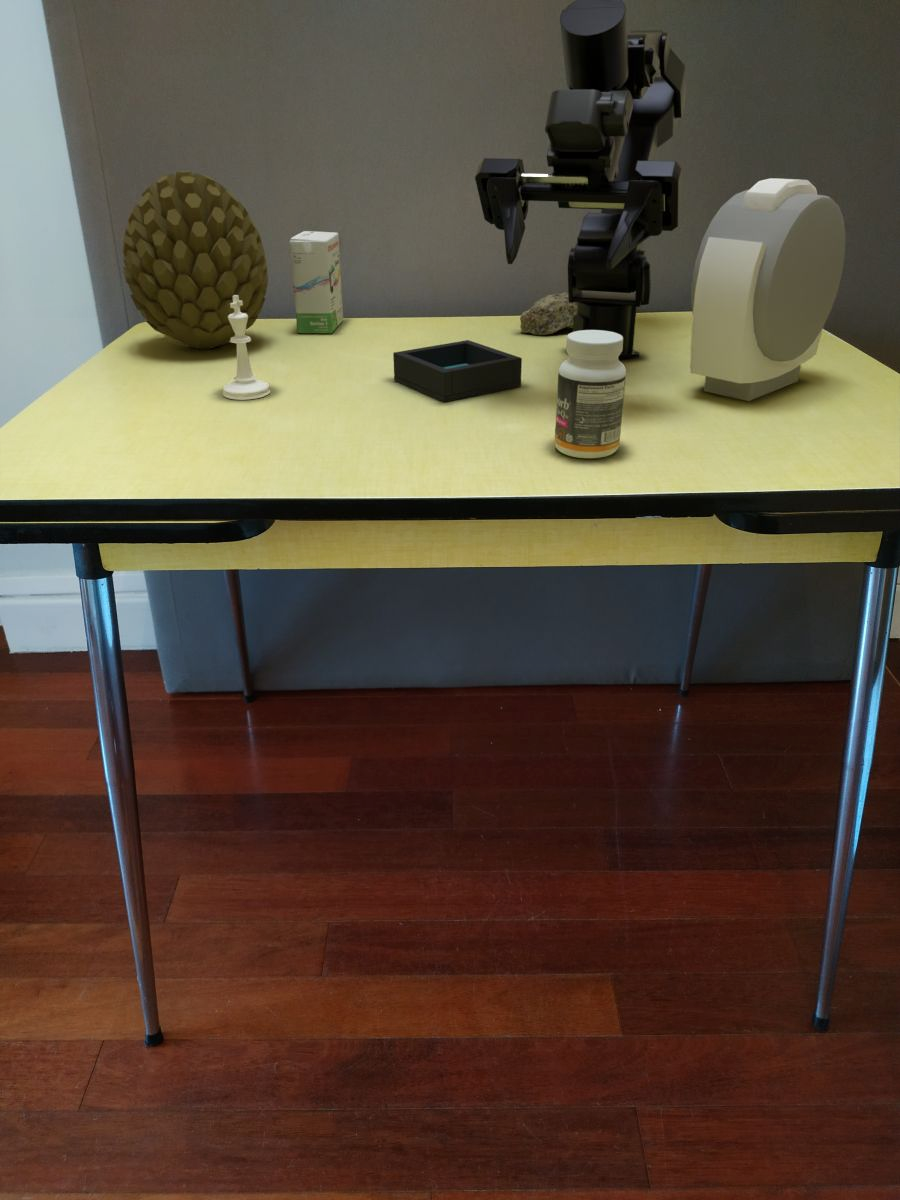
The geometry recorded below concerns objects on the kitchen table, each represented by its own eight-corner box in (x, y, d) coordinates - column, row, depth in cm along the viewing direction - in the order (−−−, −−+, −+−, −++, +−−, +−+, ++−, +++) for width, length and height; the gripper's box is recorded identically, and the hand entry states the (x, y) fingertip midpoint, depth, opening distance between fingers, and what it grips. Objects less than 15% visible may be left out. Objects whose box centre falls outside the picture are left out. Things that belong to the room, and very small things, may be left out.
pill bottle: (548, 439, 83) (554, 328, 78) (610, 437, 83) (619, 327, 78) (560, 461, 78) (567, 344, 73) (626, 459, 78) (637, 342, 73)
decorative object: (287, 354, 111) (271, 174, 101) (144, 368, 106) (112, 179, 96) (260, 326, 125) (243, 165, 115) (132, 337, 119) (103, 169, 109)
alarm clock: (758, 363, 106) (788, 172, 96) (828, 377, 100) (868, 176, 91) (671, 395, 95) (695, 182, 85) (744, 412, 89) (779, 188, 80)
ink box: (332, 334, 120) (326, 239, 114) (296, 333, 121) (287, 239, 115) (344, 320, 128) (339, 230, 122) (310, 319, 128) (303, 230, 122)
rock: (570, 338, 117) (572, 302, 115) (513, 333, 120) (514, 297, 118) (586, 327, 123) (588, 292, 121) (531, 322, 126) (532, 288, 123)
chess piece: (278, 388, 98) (269, 292, 93) (255, 401, 94) (244, 301, 89) (238, 384, 99) (227, 289, 94) (214, 397, 95) (200, 298, 90)
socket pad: (468, 366, 105) (468, 339, 104) (521, 386, 98) (522, 357, 97) (393, 380, 100) (392, 352, 99) (443, 402, 93) (443, 372, 92)
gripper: (486, 60, 83) (440, 188, 77) (696, 56, 77) (662, 193, 72) (505, 162, 93) (466, 282, 87) (692, 165, 87) (663, 293, 82)
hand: (558, 263), depth 82 cm, fingers open, 9 cm apart
